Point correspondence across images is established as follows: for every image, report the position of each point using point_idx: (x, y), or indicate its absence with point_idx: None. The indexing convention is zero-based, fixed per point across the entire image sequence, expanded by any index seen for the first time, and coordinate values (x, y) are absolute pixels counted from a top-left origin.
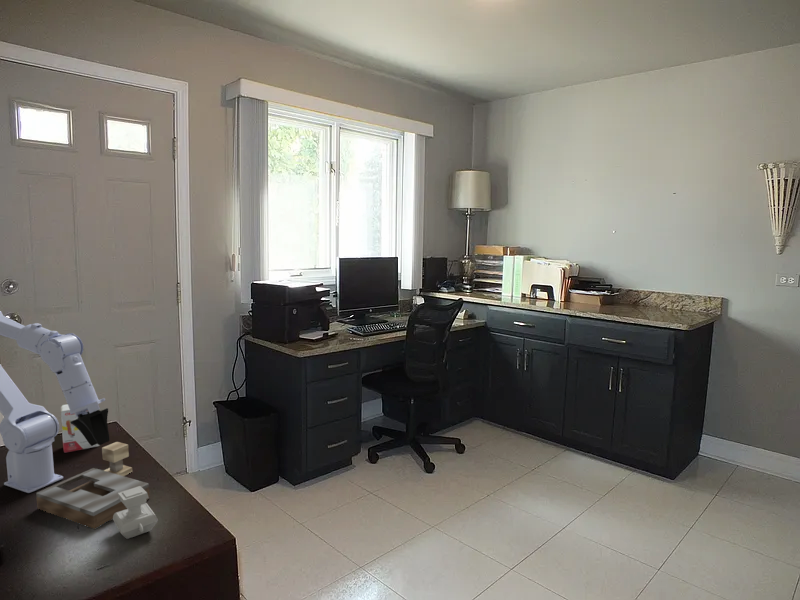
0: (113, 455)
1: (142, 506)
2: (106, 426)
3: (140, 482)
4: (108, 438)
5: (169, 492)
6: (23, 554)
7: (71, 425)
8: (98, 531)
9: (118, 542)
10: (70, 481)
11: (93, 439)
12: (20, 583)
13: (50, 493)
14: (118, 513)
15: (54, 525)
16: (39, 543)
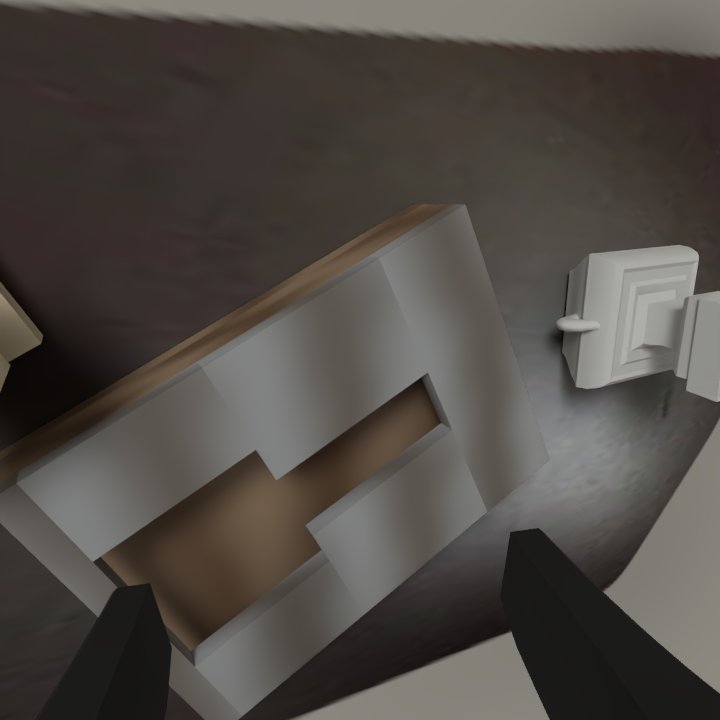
0: (1, 387)
1: (640, 286)
2: (678, 668)
3: (426, 242)
4: (558, 552)
5: (408, 92)
6: (496, 605)
7: None
8: None
9: None
10: None
11: (155, 686)
12: (601, 573)
13: (273, 665)
14: (616, 374)
15: None
16: (469, 579)
